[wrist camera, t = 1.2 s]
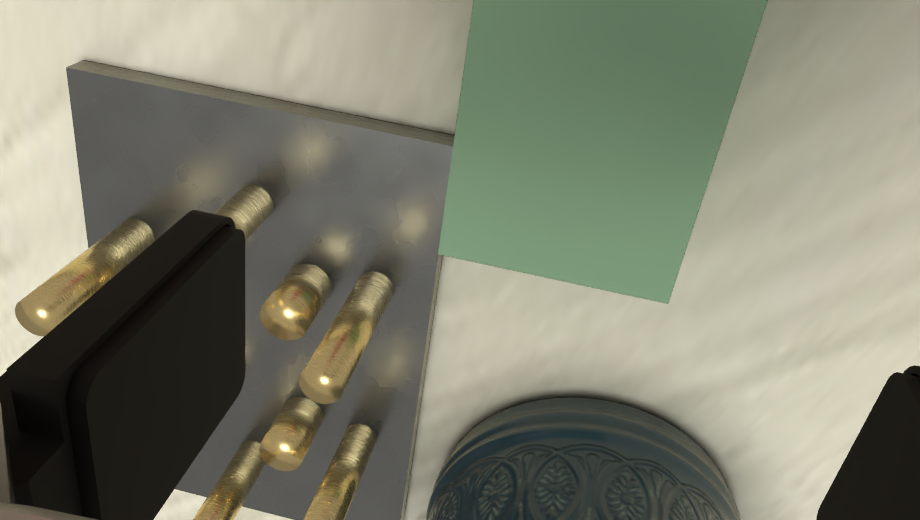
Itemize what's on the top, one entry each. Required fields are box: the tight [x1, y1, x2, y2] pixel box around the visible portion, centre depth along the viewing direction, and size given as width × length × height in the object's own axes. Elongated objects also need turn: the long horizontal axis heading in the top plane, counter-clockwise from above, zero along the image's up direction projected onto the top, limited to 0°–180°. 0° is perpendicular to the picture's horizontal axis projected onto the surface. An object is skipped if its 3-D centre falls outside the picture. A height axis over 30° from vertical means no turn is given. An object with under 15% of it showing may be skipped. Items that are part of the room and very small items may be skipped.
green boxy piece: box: [438, 0, 768, 304], centre depth 23 cm, size 7×10×5 cm
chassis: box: [15, 60, 455, 520], centre depth 29 cm, size 14×20×7 cm
